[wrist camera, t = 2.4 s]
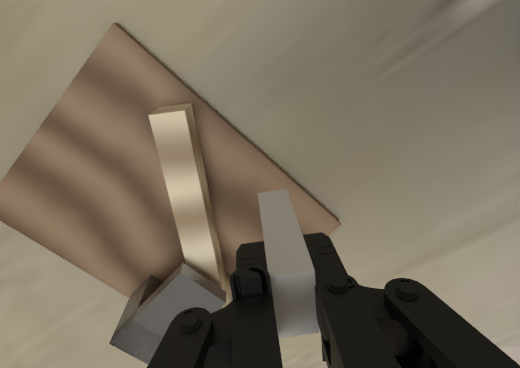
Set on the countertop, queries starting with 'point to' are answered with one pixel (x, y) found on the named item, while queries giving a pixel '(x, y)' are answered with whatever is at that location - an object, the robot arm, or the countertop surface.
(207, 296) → the block
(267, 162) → the base plate
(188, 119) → the link
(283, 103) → the countertop surface
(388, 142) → the countertop surface
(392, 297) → the robot arm
